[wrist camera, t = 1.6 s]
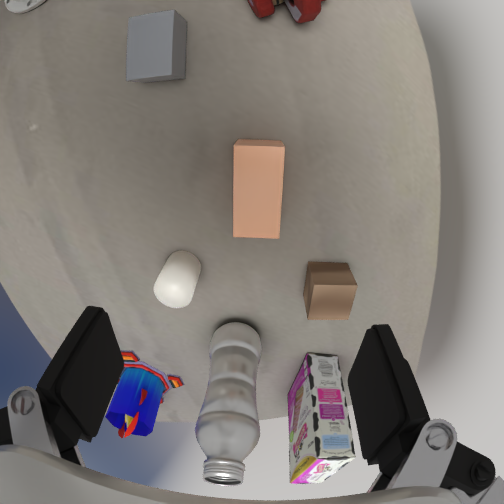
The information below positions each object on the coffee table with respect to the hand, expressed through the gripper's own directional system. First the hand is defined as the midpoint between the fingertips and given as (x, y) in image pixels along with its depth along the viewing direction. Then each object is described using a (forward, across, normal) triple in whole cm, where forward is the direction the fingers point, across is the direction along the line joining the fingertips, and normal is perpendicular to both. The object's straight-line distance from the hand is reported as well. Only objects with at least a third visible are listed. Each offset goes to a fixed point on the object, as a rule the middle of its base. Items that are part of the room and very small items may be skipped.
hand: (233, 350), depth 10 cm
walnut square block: (+21, -9, +10) cm, 25 cm away
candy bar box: (+21, -10, +28) cm, 37 cm away
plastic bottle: (+21, +1, +20) cm, 29 cm away
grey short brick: (+21, +9, -13) cm, 26 cm away
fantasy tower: (+21, +17, +33) cm, 42 cm away
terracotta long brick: (+21, 0, 0) cm, 21 cm away
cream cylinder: (+21, +7, +10) cm, 24 cm away
